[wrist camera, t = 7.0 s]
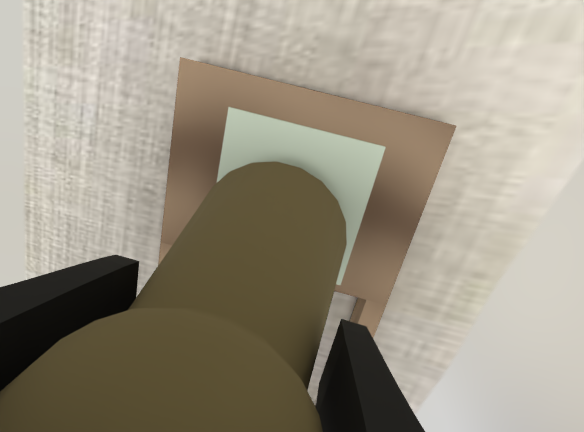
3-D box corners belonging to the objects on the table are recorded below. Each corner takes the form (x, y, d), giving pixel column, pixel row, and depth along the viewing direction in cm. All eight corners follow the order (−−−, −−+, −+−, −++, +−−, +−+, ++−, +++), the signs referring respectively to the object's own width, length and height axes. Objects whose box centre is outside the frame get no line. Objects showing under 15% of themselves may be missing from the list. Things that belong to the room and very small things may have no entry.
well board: (329, 423, 23) (328, 455, 21) (160, 372, 23) (142, 398, 21) (442, 122, 16) (457, 126, 14) (198, 61, 17) (177, 56, 14)
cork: (183, 264, 15) (-159, 653, 5) (225, 134, 13) (-259, 339, 2) (310, 318, 15) (247, 814, 5) (374, 200, 13) (514, 657, 3)
